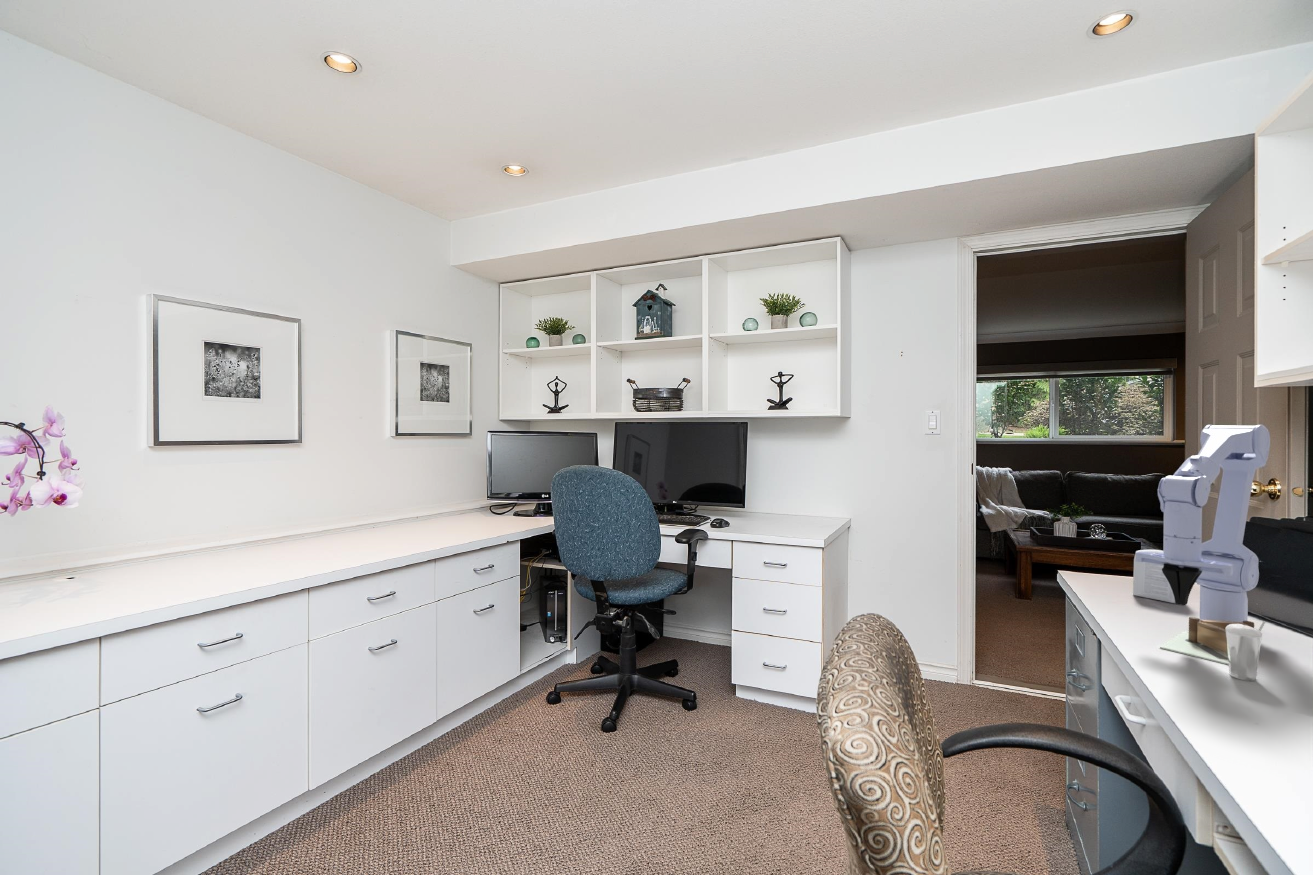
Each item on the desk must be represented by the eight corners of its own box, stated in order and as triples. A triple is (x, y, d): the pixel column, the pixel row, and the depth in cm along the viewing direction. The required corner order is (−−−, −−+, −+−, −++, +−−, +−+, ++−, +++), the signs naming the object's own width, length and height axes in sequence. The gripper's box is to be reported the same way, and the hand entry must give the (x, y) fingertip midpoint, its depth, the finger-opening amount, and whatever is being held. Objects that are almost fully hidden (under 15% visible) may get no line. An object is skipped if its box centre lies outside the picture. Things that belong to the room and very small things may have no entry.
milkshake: (1274, 684, 100) (1275, 625, 100) (1237, 681, 101) (1238, 623, 101) (1253, 673, 105) (1254, 617, 105) (1217, 670, 106) (1218, 615, 106)
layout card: (1184, 632, 125) (1184, 630, 125) (1257, 648, 116) (1257, 646, 116) (1160, 648, 117) (1159, 646, 117) (1236, 666, 108) (1236, 665, 108)
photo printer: (1187, 602, 146) (1188, 552, 146) (1182, 605, 144) (1183, 555, 143) (1136, 593, 155) (1136, 545, 154) (1130, 595, 152) (1131, 547, 152)
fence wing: (1197, 641, 118) (1197, 621, 118) (1203, 641, 118) (1203, 621, 118) (1238, 657, 110) (1238, 636, 110) (1245, 657, 110) (1245, 636, 110)
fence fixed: (1186, 641, 120) (1187, 616, 120) (1250, 646, 118) (1250, 620, 117) (1191, 643, 119) (1191, 619, 119) (1255, 649, 116) (1256, 623, 116)
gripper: (1130, 533, 122) (1129, 598, 122) (1226, 544, 110) (1225, 617, 111) (1142, 529, 126) (1141, 592, 126) (1236, 539, 114) (1234, 609, 115)
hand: (1181, 603), depth 119 cm, fingers closed
